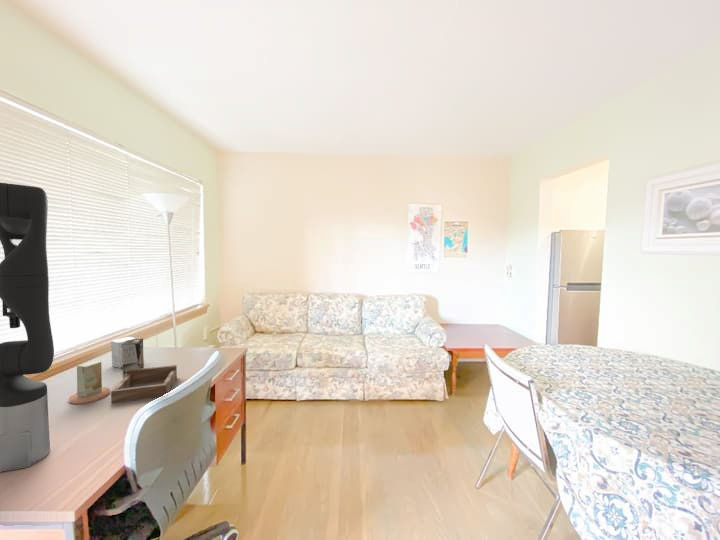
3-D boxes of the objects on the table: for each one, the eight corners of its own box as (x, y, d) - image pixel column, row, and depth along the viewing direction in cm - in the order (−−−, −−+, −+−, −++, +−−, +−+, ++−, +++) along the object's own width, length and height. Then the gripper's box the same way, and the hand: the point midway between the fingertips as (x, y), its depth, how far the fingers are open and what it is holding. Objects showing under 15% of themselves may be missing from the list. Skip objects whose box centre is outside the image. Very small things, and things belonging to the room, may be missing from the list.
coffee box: (140, 378, 135) (139, 343, 134) (122, 380, 132) (121, 345, 131) (144, 370, 143) (143, 337, 142) (128, 372, 140) (127, 339, 139)
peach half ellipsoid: (101, 401, 114) (101, 398, 114) (61, 406, 110) (61, 403, 109) (115, 387, 125) (115, 385, 125) (79, 391, 121) (78, 389, 121)
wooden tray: (166, 395, 119) (166, 381, 118) (111, 403, 112) (110, 387, 112) (176, 377, 136) (176, 364, 135) (129, 383, 129) (128, 369, 129)
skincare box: (85, 398, 114) (84, 367, 113) (76, 397, 115) (75, 366, 114) (103, 390, 120) (102, 361, 119) (94, 389, 121) (93, 360, 120)
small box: (129, 361, 155) (128, 336, 154) (137, 362, 153) (136, 337, 152) (111, 366, 147) (110, 340, 146) (120, 368, 145) (119, 342, 144)
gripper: (21, 279, 95) (24, 329, 96) (49, 275, 108) (51, 319, 109) (-11, 280, 92) (-8, 331, 93) (22, 276, 106) (24, 321, 107)
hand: (24, 324), depth 101 cm, fingers open, 8 cm apart
